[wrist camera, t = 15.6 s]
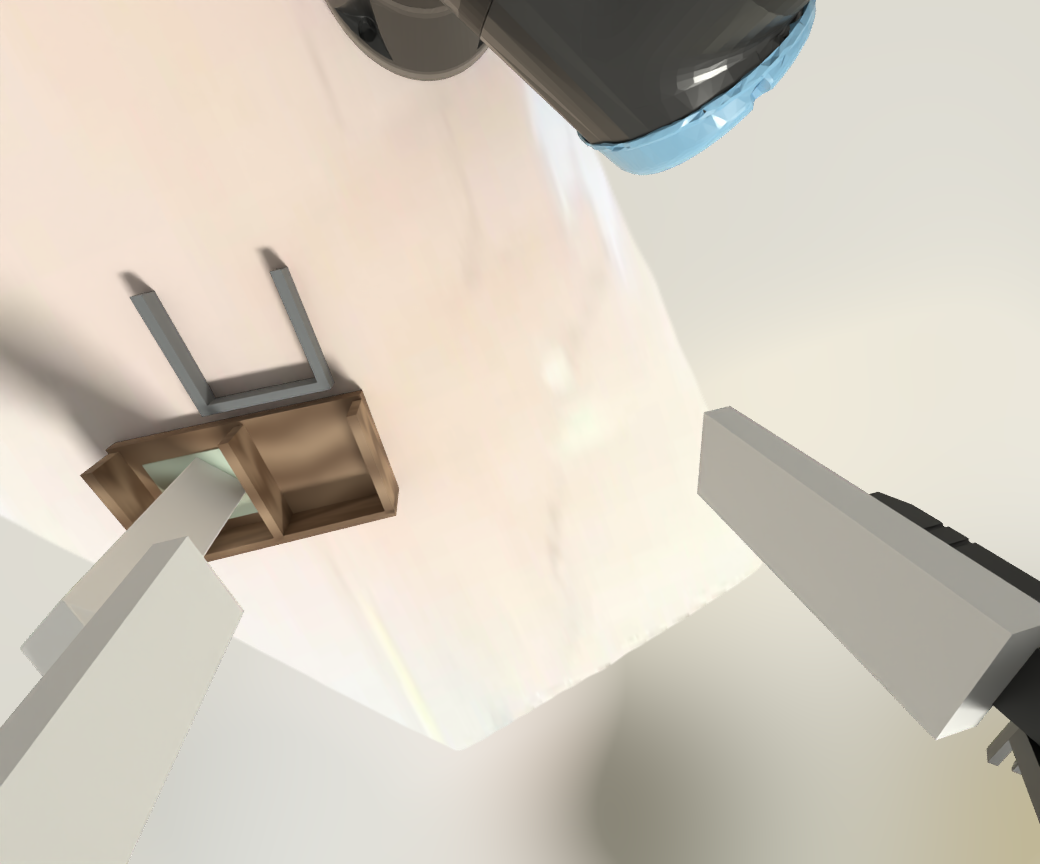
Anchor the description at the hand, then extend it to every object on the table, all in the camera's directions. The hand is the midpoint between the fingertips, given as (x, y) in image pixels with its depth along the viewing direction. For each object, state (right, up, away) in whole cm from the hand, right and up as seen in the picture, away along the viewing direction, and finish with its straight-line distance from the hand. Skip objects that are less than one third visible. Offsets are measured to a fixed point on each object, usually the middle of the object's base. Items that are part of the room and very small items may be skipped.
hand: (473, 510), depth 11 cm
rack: (-28, -2, +37) cm, 47 cm away
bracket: (-26, +12, +30) cm, 42 cm away
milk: (-34, -4, +35) cm, 49 cm away
